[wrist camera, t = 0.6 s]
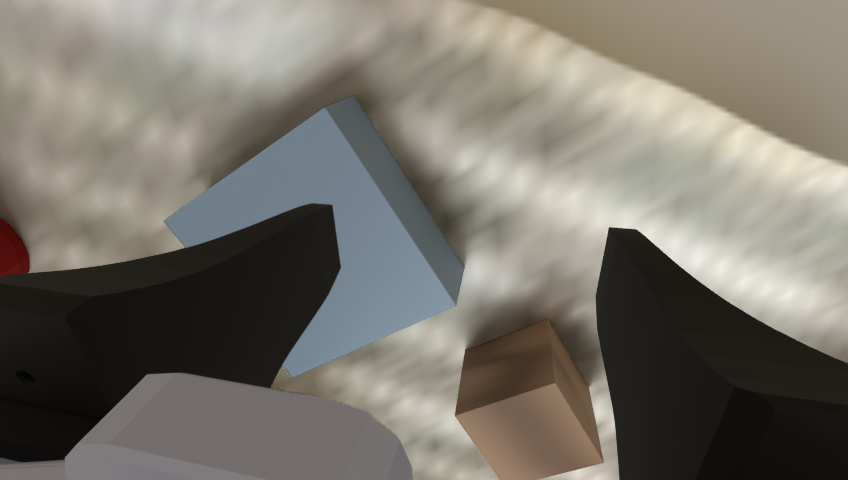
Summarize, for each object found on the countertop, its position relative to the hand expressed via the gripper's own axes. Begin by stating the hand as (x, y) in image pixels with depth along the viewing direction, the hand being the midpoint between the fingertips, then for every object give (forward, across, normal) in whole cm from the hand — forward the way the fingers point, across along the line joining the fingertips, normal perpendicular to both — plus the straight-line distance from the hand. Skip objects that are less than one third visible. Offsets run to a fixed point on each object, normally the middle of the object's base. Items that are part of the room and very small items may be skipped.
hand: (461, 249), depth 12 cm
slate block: (+10, +8, +5) cm, 14 cm away
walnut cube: (+9, -2, +13) cm, 16 cm away
